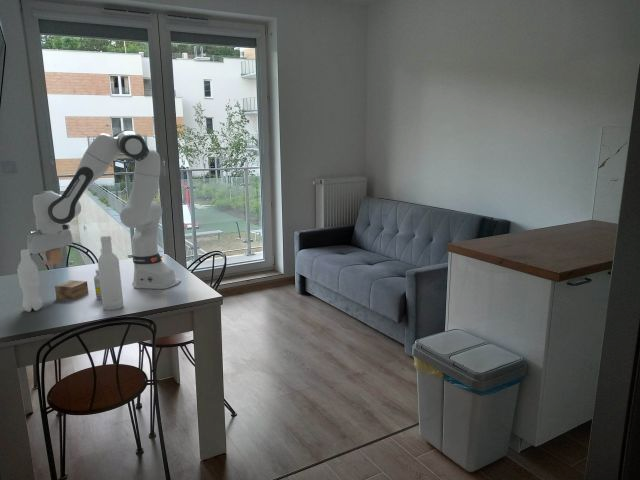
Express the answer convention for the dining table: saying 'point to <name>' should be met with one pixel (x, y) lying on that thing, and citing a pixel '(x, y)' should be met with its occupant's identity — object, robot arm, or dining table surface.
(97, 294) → the supplement bottle
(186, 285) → the dining table surface
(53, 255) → the brown cardboard box
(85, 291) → the walnut box
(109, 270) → the bottle
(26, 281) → the water bottle
